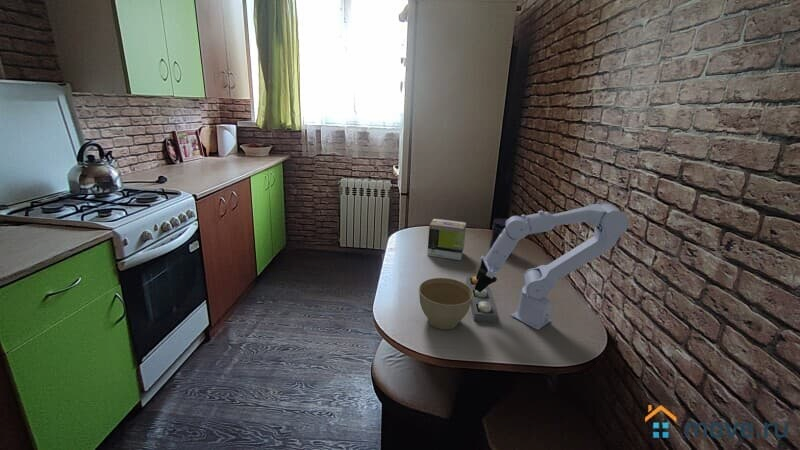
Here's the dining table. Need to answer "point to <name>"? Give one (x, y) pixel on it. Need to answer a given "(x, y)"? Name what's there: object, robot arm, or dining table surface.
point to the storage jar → (497, 230)
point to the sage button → (481, 294)
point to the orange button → (474, 280)
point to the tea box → (446, 239)
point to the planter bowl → (445, 301)
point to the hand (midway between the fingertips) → (478, 284)
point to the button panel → (475, 303)
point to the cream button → (484, 307)
